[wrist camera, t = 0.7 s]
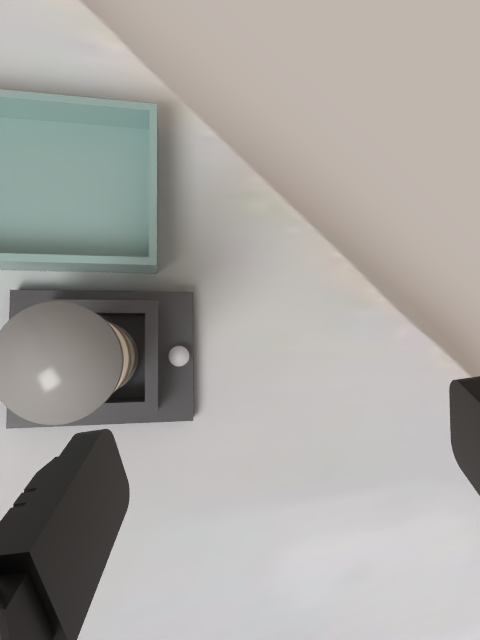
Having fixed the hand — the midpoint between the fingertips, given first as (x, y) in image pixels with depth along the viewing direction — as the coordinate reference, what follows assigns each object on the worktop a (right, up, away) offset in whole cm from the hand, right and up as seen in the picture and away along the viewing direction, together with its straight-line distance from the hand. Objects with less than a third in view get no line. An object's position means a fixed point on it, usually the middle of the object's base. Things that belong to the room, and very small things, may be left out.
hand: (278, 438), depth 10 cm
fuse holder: (-10, 0, +19) cm, 22 cm away
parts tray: (-14, +12, +19) cm, 27 cm away
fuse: (-10, 0, +18) cm, 21 cm away
